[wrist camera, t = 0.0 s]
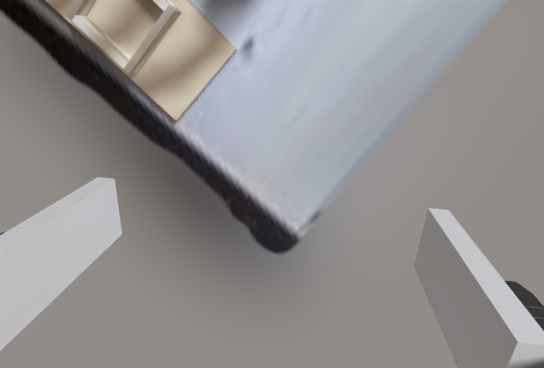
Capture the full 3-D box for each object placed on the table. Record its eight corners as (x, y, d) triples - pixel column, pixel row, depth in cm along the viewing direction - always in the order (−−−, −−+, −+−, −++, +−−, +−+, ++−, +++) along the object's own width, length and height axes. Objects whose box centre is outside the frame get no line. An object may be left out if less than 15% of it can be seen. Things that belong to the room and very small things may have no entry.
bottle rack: (30, -19, 39) (7, -25, 36) (78, -111, 35) (55, -125, 32) (179, 118, 42) (169, 124, 40) (237, 50, 39) (230, 50, 36)
